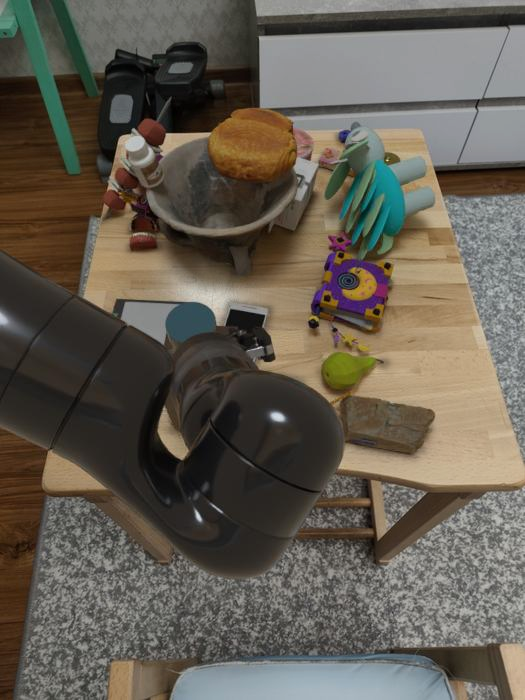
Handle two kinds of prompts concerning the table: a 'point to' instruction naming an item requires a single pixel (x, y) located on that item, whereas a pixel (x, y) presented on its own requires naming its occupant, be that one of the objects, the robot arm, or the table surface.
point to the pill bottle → (144, 162)
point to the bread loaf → (253, 146)
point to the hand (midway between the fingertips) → (197, 345)
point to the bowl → (215, 206)
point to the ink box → (298, 194)
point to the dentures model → (143, 238)
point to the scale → (145, 315)
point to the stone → (384, 423)
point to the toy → (331, 156)
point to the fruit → (345, 369)
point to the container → (303, 144)
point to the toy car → (137, 203)
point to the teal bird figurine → (377, 189)
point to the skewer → (126, 175)
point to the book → (351, 291)
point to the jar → (189, 322)
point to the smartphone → (246, 317)
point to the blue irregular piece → (343, 135)
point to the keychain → (342, 397)
